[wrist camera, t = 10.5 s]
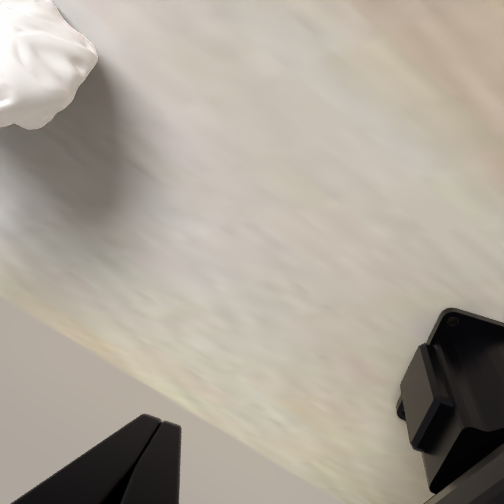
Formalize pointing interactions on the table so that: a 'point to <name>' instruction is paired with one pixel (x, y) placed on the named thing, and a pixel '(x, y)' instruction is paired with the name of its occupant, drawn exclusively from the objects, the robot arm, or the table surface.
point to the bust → (39, 62)
